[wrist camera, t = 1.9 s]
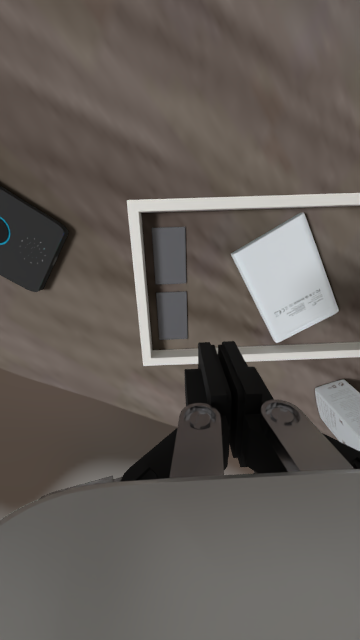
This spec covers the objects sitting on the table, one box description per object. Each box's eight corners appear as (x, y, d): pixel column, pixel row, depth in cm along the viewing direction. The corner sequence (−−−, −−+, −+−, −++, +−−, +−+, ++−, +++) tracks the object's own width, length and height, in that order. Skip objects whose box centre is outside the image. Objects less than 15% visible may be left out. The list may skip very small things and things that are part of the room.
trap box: (130, 202, 24) (123, 198, 21) (449, 192, 25) (491, 186, 21) (145, 357, 31) (141, 372, 28) (397, 347, 31) (424, 361, 28)
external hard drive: (297, 213, 26) (332, 307, 30) (229, 253, 27) (271, 338, 31) (305, 212, 24) (341, 311, 28) (232, 254, 25) (276, 344, 29)
